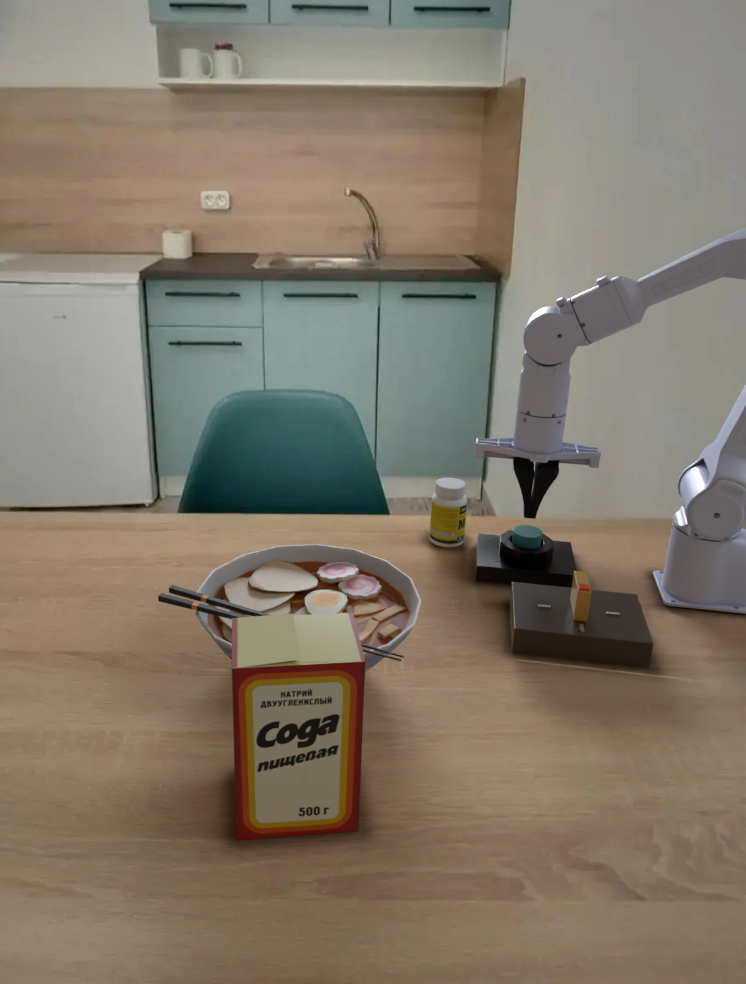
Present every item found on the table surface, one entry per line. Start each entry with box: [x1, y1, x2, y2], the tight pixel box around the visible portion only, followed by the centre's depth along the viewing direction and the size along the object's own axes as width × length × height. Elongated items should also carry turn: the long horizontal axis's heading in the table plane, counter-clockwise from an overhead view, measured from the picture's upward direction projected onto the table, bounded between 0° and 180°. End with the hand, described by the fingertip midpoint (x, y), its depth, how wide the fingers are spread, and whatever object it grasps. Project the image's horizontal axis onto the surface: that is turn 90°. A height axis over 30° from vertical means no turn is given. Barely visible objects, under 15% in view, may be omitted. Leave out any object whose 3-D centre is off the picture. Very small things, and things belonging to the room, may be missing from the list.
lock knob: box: [570, 570, 592, 622], centre depth 90 cm, size 4×1×4 cm, turn 170°
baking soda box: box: [231, 613, 366, 841], centre depth 64 cm, size 10×6×16 cm
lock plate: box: [508, 582, 654, 669], centre depth 91 cm, size 14×10×3 cm
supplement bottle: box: [428, 477, 468, 548], centre depth 111 cm, size 5×5×8 cm
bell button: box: [512, 524, 544, 549], centre depth 104 cm, size 4×4×2 cm
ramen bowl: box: [157, 543, 423, 673], centre depth 85 cm, size 25×23×8 cm
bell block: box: [474, 529, 578, 588], centre depth 104 cm, size 12×9×4 cm
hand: (529, 515), depth 102 cm, fingers closed
